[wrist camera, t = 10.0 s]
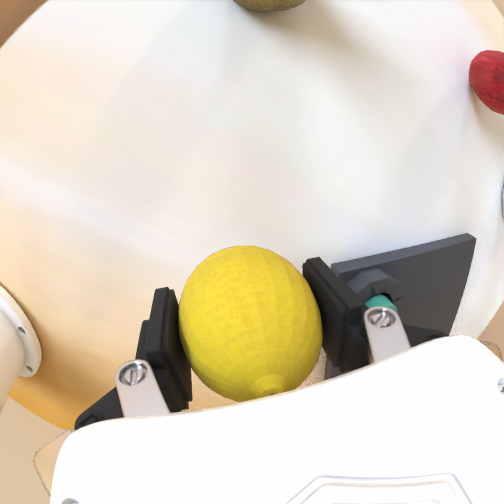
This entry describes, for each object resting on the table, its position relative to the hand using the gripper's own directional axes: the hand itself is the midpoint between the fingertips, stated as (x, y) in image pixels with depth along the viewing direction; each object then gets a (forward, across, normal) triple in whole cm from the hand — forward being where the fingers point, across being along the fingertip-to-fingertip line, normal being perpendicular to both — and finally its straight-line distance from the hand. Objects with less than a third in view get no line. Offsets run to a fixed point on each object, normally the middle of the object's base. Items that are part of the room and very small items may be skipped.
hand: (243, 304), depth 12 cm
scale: (+6, -15, +10) cm, 19 cm away
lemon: (+3, 0, 0) cm, 3 cm away
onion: (+6, -23, -12) cm, 27 cm away
